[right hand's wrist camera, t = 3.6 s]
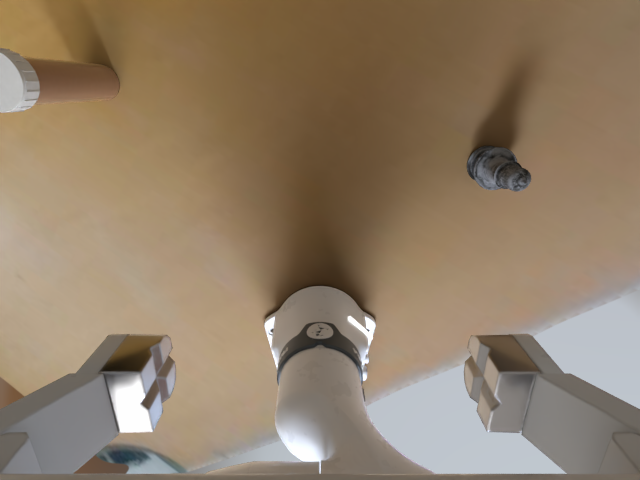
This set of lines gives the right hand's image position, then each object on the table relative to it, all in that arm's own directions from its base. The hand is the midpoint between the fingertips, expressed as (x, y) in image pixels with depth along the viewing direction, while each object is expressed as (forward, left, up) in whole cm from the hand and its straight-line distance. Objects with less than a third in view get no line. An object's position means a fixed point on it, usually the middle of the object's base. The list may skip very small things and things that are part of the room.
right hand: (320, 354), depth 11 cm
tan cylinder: (+7, +29, -48) cm, 57 cm away
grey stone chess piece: (-4, -24, -48) cm, 54 cm away
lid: (+7, +29, -29) cm, 42 cm away
